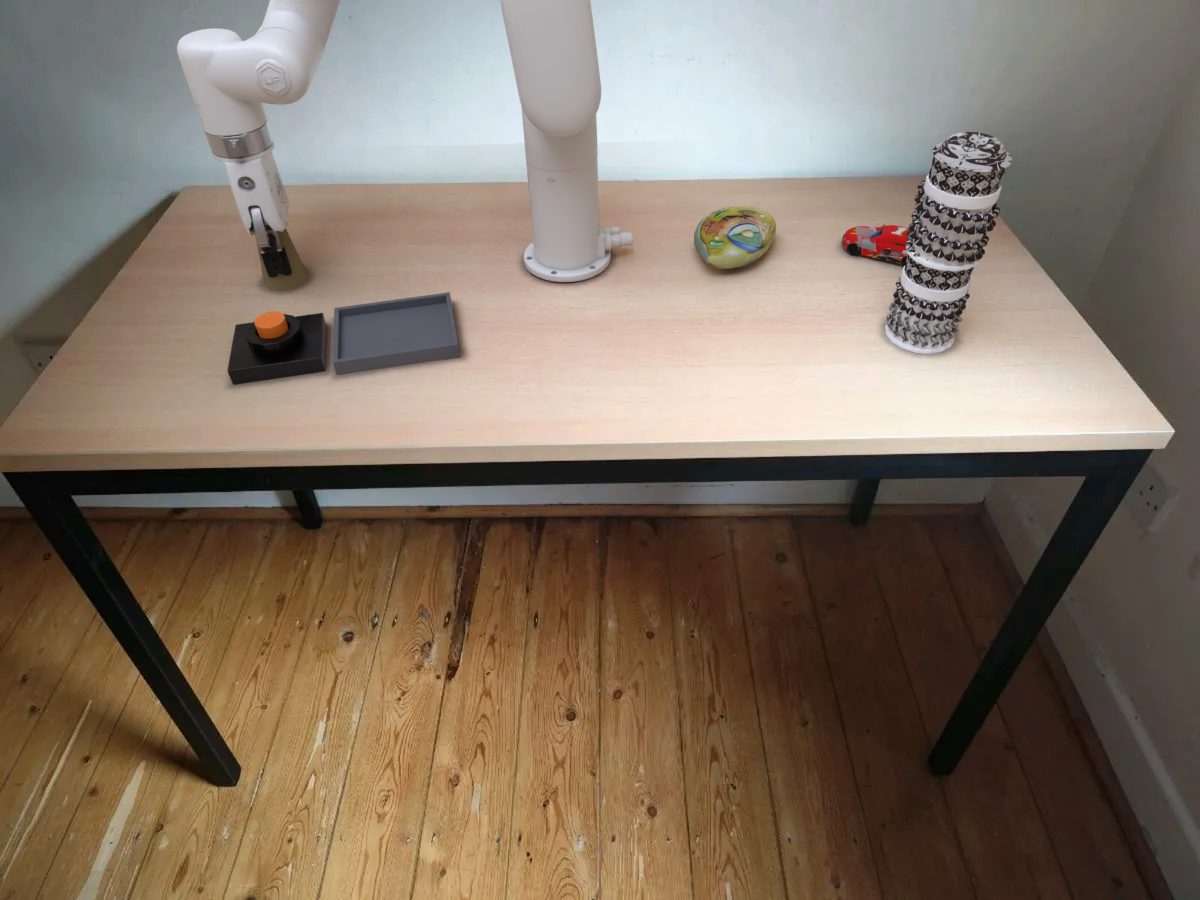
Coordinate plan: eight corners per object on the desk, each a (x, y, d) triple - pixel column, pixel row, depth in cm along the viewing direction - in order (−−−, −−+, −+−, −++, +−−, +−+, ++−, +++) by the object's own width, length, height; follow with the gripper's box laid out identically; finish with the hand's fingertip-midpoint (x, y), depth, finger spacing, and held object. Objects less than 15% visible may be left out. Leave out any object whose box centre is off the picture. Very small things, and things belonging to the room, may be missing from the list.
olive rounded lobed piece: (295, 292, 116) (272, 220, 109) (256, 288, 117) (230, 217, 110) (314, 270, 121) (294, 199, 113) (276, 266, 122) (253, 196, 114)
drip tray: (451, 304, 113) (449, 291, 112) (460, 357, 104) (458, 344, 103) (337, 320, 111) (334, 307, 110) (336, 375, 102) (332, 362, 101)
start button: (289, 321, 105) (285, 309, 104) (287, 337, 102) (283, 325, 101) (259, 325, 104) (255, 313, 103) (257, 341, 102) (253, 329, 101)
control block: (327, 326, 110) (319, 300, 107) (325, 371, 103) (317, 345, 100) (240, 338, 109) (230, 312, 106) (233, 385, 101) (222, 358, 99)
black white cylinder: (866, 324, 108) (911, 133, 90) (924, 306, 110) (979, 118, 93) (912, 363, 101) (970, 166, 84) (972, 344, 104) (1041, 149, 87)
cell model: (794, 223, 122) (759, 230, 110) (770, 271, 126) (734, 283, 114) (732, 190, 125) (692, 193, 113) (710, 238, 129) (669, 246, 117)
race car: (835, 252, 121) (840, 227, 118) (847, 236, 124) (852, 211, 121) (927, 274, 116) (934, 249, 113) (937, 256, 119) (944, 231, 116)
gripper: (266, 163, 99) (306, 294, 112) (275, 110, 111) (311, 234, 124) (200, 170, 98) (249, 302, 111) (217, 116, 110) (259, 240, 123)
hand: (281, 265), depth 117 cm, fingers closed on olive rounded lobed piece, 4 cm apart
